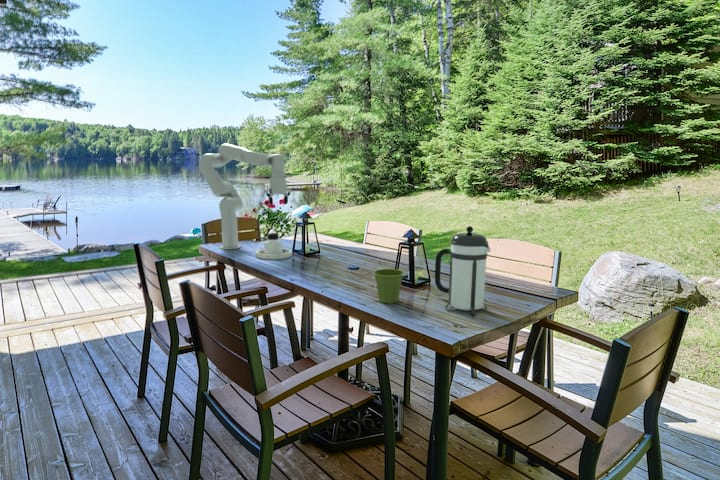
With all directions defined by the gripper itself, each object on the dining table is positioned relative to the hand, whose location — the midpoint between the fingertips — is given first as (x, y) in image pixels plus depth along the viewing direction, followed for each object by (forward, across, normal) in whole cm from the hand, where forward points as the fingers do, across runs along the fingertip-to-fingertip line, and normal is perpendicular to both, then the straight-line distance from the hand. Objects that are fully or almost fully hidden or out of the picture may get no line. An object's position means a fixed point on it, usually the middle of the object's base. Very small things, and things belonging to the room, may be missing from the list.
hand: (278, 203), depth 262 cm
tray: (+28, +11, +15) cm, 34 cm away
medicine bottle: (+28, +11, +14) cm, 33 cm away
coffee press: (+28, -1, +142) cm, 145 cm away
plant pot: (+28, +14, +119) cm, 123 cm away
